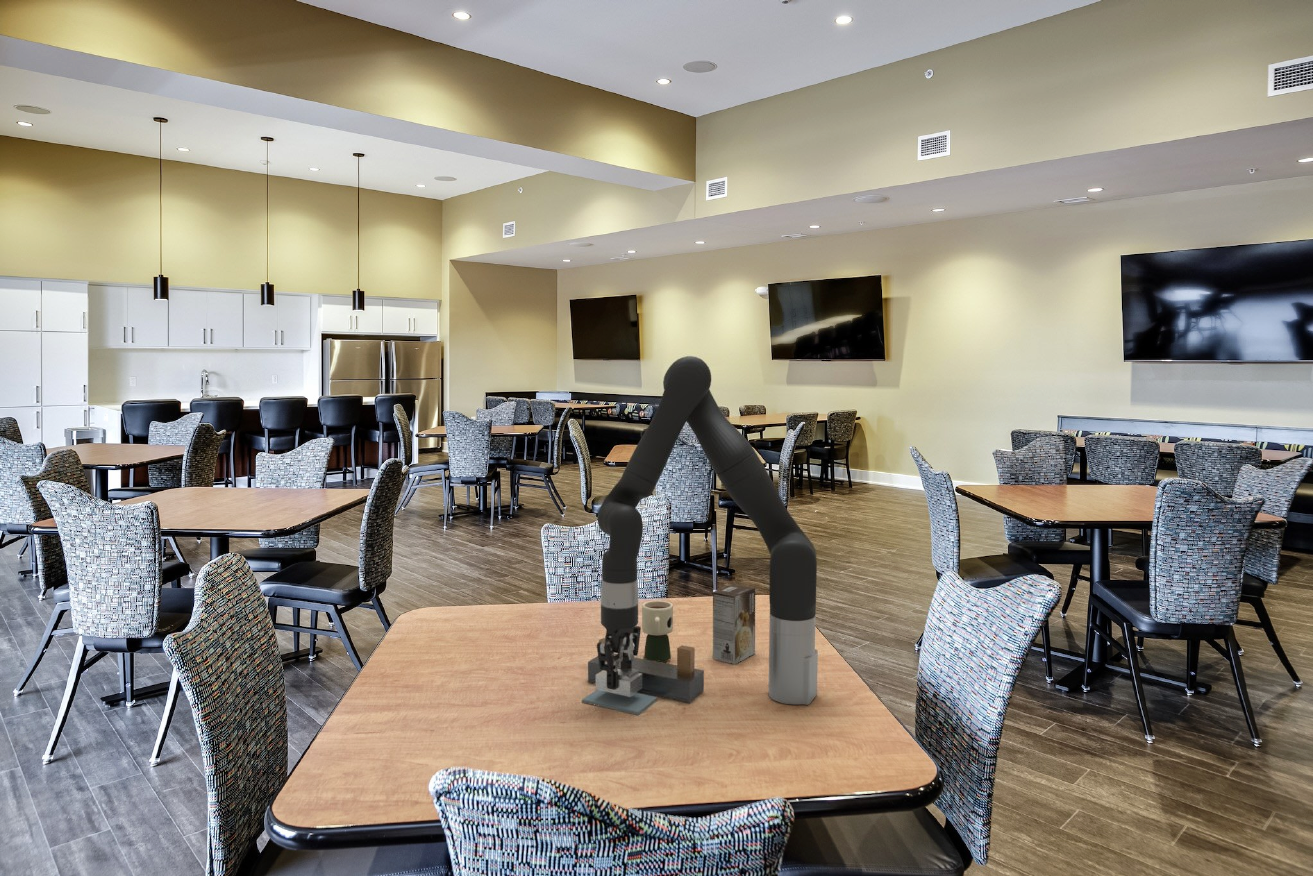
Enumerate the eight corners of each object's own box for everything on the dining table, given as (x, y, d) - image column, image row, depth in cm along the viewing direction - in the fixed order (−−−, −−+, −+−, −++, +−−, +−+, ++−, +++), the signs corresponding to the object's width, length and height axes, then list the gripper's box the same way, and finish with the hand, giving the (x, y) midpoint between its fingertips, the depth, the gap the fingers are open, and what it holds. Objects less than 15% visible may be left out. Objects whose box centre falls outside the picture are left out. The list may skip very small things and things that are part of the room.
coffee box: (732, 648, 194) (733, 583, 193) (755, 654, 190) (756, 587, 189) (711, 659, 187) (712, 591, 185) (735, 665, 183) (736, 596, 181)
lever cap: (642, 688, 163) (642, 669, 163) (630, 696, 159) (630, 678, 158) (608, 680, 167) (608, 663, 166) (595, 689, 162) (595, 671, 162)
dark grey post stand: (703, 691, 168) (704, 644, 167) (689, 703, 162) (689, 655, 161) (604, 671, 179) (604, 627, 178) (588, 682, 173) (587, 636, 172)
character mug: (673, 668, 181) (673, 611, 180) (641, 668, 181) (641, 611, 180) (672, 651, 192) (672, 598, 191) (642, 651, 192) (642, 597, 191)
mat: (657, 700, 163) (657, 697, 163) (638, 715, 156) (638, 712, 156) (602, 688, 169) (602, 685, 169) (581, 702, 162) (581, 699, 162)
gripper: (617, 613, 153) (617, 700, 155) (652, 595, 166) (652, 675, 167) (584, 608, 157) (584, 692, 158) (621, 590, 169) (621, 669, 171)
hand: (619, 683), depth 163 cm, fingers closed on lever cap, 5 cm apart
